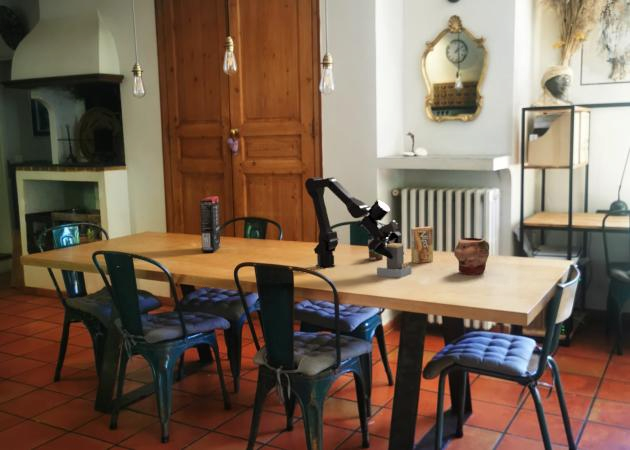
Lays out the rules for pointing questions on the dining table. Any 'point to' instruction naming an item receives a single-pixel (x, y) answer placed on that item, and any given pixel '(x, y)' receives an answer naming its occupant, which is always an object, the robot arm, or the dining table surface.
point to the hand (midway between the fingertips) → (397, 256)
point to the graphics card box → (210, 224)
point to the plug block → (395, 256)
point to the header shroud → (395, 271)
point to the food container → (374, 254)
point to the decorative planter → (472, 255)
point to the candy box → (422, 244)
